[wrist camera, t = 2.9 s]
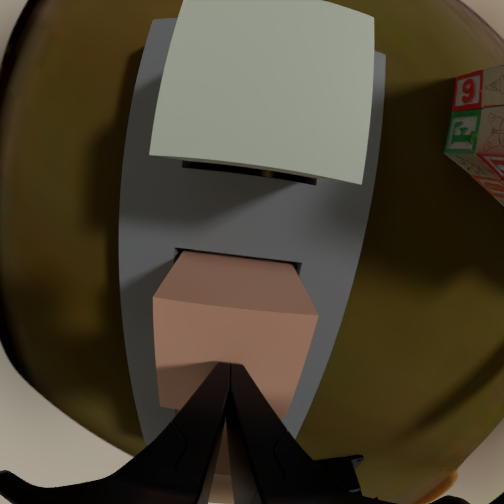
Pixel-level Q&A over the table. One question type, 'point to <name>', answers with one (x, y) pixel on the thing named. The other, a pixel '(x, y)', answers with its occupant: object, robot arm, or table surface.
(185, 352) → the salmon pink cube
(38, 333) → the table surface
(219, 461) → the walnut key
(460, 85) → the stack of blocks
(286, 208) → the key board
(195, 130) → the pale green cube
